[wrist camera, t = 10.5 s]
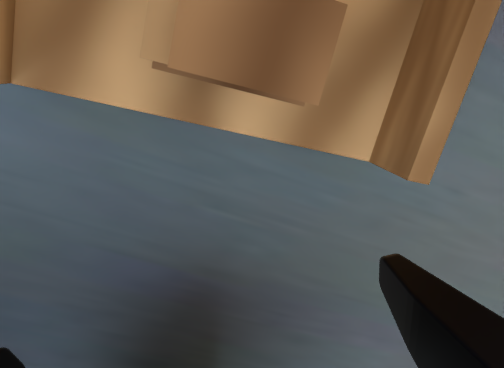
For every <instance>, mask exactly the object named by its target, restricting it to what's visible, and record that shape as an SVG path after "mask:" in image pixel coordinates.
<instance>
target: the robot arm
mask: <svg viewBox="0 0 504 368" xmlns="http://www.w3.org/2000/svg"><path fill="white" fill-rule="evenodd" d="M379 283H380V287H381V290H382V292H383V294H384V296H385V299H386V301H387V303H388V305H389V308H390V310H391V312H392V315H393V317H394V319H395V321H396V324H397V326H398V328H399V330H400V333H401V335H402V337H403V339H404V342H405V344H406V346H407V348H408V350H409V352H410V354H411V356H412V358H413V359H414V361H415V363H416V365H417V366H418V368H504V318H502V317H501V316H499V315H497V314H496V313H494V312H493V311H491V310H489V309H488V308H486V307H484V306H483V305H481V304H480V303H478V302H476V301H475V300H473V299H471V298H470V297H468V296H467V295H465V294H463V293H462V292H460V291H458V290H457V289H455V288H454V287H452V286H450V285H449V284H447V283H445V282H444V281H442V280H441V279H439V278H437V277H436V276H434V275H432V274H431V273H429V272H428V271H426V270H424V269H423V268H421V267H419V266H418V265H416V264H415V263H413V262H411V261H410V260H408V259H406V258H405V257H403V256H402V255H400V254H391V255H387V256H383V257H381V258H380V264H379ZM0 368H25V366H24V365H23V363H22V362H21V361H20V360H19V359H18V358H17V357H16V356H15V355H14V354H13V353H12V352H11V351H10V350H9V349H7V348H4V347H2V348H0Z"/></svg>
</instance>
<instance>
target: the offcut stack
mask: <svg viewBox="0 0 504 368" xmlns="http://www.w3.org/2000/svg"><path fill="white" fill-rule="evenodd" d="M347 6H348V5H347V4H345V3H342V2H339V1H336V0H148V5H147V12H146V18H145V25H144V32H143V38H142V45H141V52H140V58H143V59H147V60H151V61H153V62H152V68H153V69H157V70H161V71H165V72H168V73H172V74H176V75H180V76H184V77H188V78H192V79H196V80H200V81H204V82H208V83H212V84H216V85H220V86H224V87H228V88H232V89H236V90H240V91H244V92H248V93H252V94H256V95H260V96H264V97H268V98H272V99H276V100H280V101H284V102H288V103H292V104H296V105H300V106H304V105H305V102H306V103H310V104H314V105H317V106H319V102H320V99H321V95H322V92H323V89H324V85H325V82H326V78H327V75H328V71H329V68H330V64H331V61H332V58H333V54H334V51H335V47H336V44H337V40H338V37H339V33H340V30H341V27H342V23H343V20H344V16H345V13H346V9H347Z"/></svg>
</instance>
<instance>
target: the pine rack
mask: <svg viewBox="0 0 504 368" xmlns="http://www.w3.org/2000/svg"><path fill="white" fill-rule="evenodd" d="M336 1H339V2H342V3H345V4H347V5H348V6H347V9H346V13H345V16H344V20H343V23H342V27H341V30H340V33H339V37H338V40H337V44H336V47H335V51H334V54H333V58H332V61H331V64H330V68H329V71H328V75H327V78H326V82H325V85H324V89H323V92H322V95H321V99H320V102H319V106H317V105H314V104H310V103H306V102H305V105H304V106H300V105H296V104H292V103H288V102H284V101H280V100H276V99H272V98H268V97H264V96H260V95H256V94H252V93H248V92H244V91H240V90H236V89H232V88H228V87H224V86H220V85H216V84H212V83H208V82H204V81H200V80H196V79H192V78H188V77H184V76H180V75H176V74H172V73H168V72H165V71H161V70H157V69H153V68H152V62H153V61H151V60H147V59H143V58H140V52H141V45H142V38H143V32H144V25H145V18H146V12H147V5H148V0H0V84H6V83H12V84H17V85H21V86H26V87H31V88H35V89H40V90H44V91H49V92H53V93H58V94H63V95H67V96H72V97H76V98H81V99H85V100H90V101H94V102H99V103H104V104H108V105H113V106H117V107H122V108H126V109H131V110H136V111H140V112H145V113H149V114H154V115H158V116H163V117H168V118H172V119H177V120H181V121H186V122H190V123H195V124H199V125H204V126H209V127H213V128H218V129H222V130H227V131H231V132H236V133H241V134H245V135H250V136H254V137H259V138H263V139H268V140H272V141H277V142H282V143H286V144H291V145H295V146H300V147H304V148H309V149H314V150H318V151H323V152H327V153H332V154H336V155H341V156H346V157H350V158H355V159H359V160H364V161H368V162H371V163H373V164H375V165H377V166H379V167H381V168H383V169H385V170H387V171H389V172H391V173H393V174H396V175H398V176H400V177H402V178H404V179H406V180H409V181H413V182H418V183H423V184H428V185H429V183H430V181H431V178H432V176H433V173H434V171H435V168H436V165H437V163H438V160H439V158H440V155H441V153H442V150H443V148H444V145H445V143H446V140H447V138H448V135H449V133H450V130H451V128H452V125H453V123H454V120H455V118H456V115H457V113H458V110H459V107H460V105H461V102H462V100H463V97H464V95H465V92H466V90H467V87H468V85H469V82H470V80H471V77H472V75H473V72H474V70H475V67H476V65H477V62H478V60H479V57H480V54H481V52H482V49H483V47H484V44H485V42H486V39H487V37H488V34H489V32H490V29H491V27H492V24H493V22H494V19H495V17H496V14H497V12H498V9H499V7H500V4H501V2H502V0H336Z"/></svg>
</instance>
